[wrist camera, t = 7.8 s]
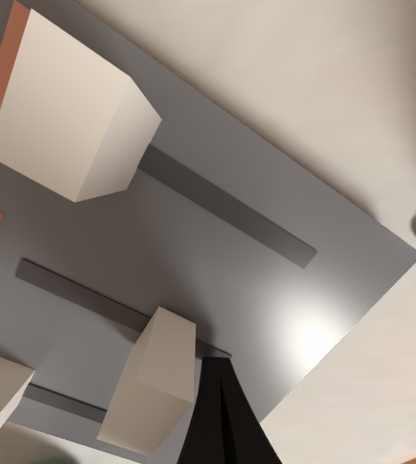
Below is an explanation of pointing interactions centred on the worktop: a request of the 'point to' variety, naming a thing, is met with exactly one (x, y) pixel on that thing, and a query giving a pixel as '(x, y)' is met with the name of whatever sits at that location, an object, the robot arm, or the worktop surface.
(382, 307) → the worktop surface
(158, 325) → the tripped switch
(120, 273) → the switch panel
